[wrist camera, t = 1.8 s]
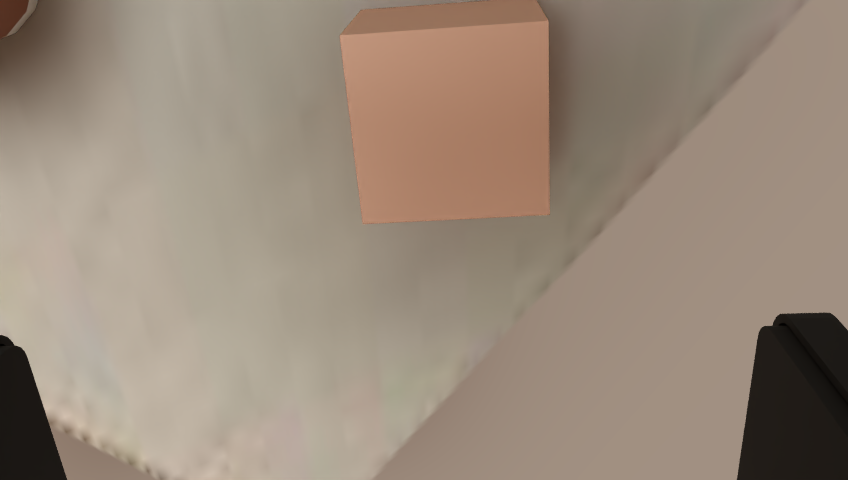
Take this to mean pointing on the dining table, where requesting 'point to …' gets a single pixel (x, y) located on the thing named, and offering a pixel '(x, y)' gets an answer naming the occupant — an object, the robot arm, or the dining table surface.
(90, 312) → the dining table surface
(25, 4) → the coffee cup
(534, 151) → the stacking block
